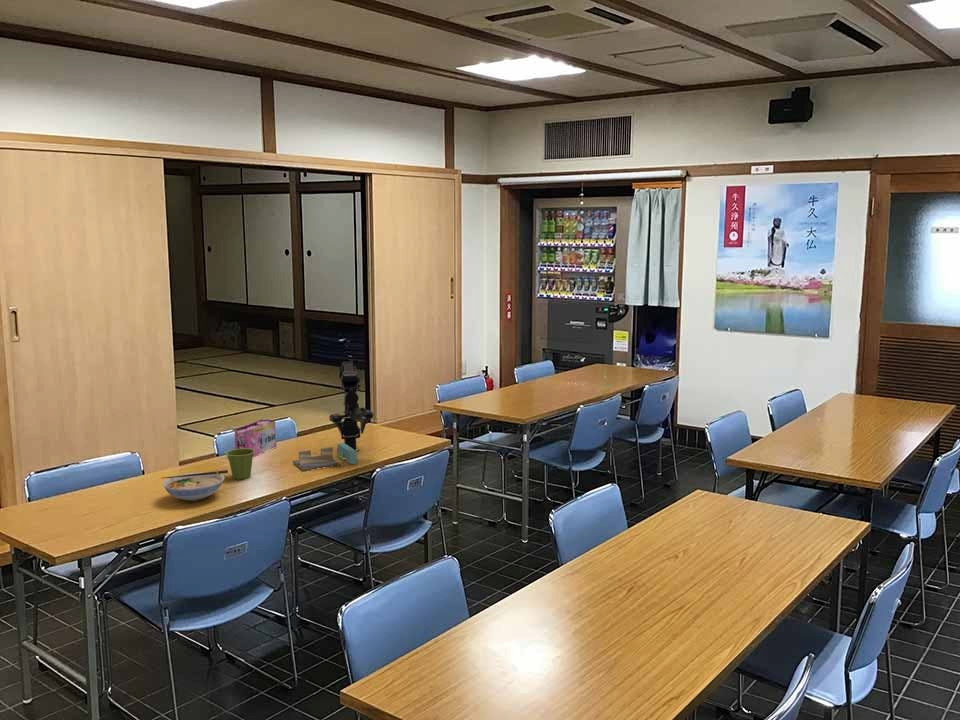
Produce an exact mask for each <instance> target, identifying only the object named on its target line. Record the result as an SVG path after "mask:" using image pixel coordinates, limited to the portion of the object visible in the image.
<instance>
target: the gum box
mask: <svg viewBox="0 0 960 720" xmlns="http://www.w3.org/2000/svg"><path fill="white" fill-rule="evenodd" d="M276 433H277V432H276V420H271V419H260V420H258V421H255V422H253V423H248V424H246V425H243V426H241V427H238V428H234V449H253V450H255V452H254V455H253V458H255V457H257V456H259V455H258V454H260V453H262V454H264V453H263V452H265V451H267V450H269V449H272V448H274V447H277V434H276ZM274 449H275V448H274ZM272 450H273V449H272ZM269 451H270V450H269ZM267 452H268V451H267ZM265 453H266V452H265ZM256 455H257V456H256ZM260 455H261V454H260ZM254 456H255V457H254Z"/></svg>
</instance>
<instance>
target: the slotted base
mask: <svg viewBox="0 0 960 720" xmlns="http://www.w3.org/2000/svg"><path fill="white" fill-rule="evenodd" d="M333 449H334V447H333V446H326V447H325V446H324V447H320V454H317V455H316V454H315V455H312V450H311V449H304V450H303V449H302V450H298V459H295V460H292V464H293V463H294V465H295V466H296V465H297V466H298V467H299V468H300V469H301V470H302V471H301V470H300V469H299V468H298V467H297V466H296V467H297V468H298V469H299V470H300V471H301V472H306V471H305V470H309V471H312V470H311V469H316V470H318V469H317V468H323V467H330V468H332V467H331V466H337V465H340V466H341V463H340V462H338V461H337V460H336V459H334V450H333ZM337 467H338V466H337ZM323 469H324V468H323Z"/></svg>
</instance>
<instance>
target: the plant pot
mask: <svg viewBox="0 0 960 720" xmlns="http://www.w3.org/2000/svg"><path fill="white" fill-rule="evenodd" d="M254 452H255V450H253V449H235V448H234V449H231V450H228V451H225V455H226V456H227V460H228V461H229V467H230V471H231V475H232V478H233V479H234V480H238V481H239V480H248V479H249V478H251V476H252V475H251V474H252V466H253V460H254V457H253V455H254Z"/></svg>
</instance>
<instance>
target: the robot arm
mask: <svg viewBox="0 0 960 720" xmlns="http://www.w3.org/2000/svg"><path fill="white" fill-rule="evenodd" d="M338 379H339V381H340V383H341V390H342V391H343V396H344V397H343V399H344V402H343V406H344V411H343V414H340V413H330V415H329V422H332V423H334V424H335V425H336V427H337V429H338V431H339V434H340V436H341V440H343V443H345V444H346V445H348V446H350V447H351V448H353V449H354V450H356V449H358V446H357V439H360V438H361V434H362V435H363V434H364V431H365V427H366V426H367V423H368V421H371V419H374V413H373V411H371V410H369V409H367V408H366V407H360V406H359V403H358V402H359V395H358V390H360V387H361V386H362V385H361V376H360V375H359V374H358V371H357V366H356V365H355V364H354V362H353V361H343V362H342V363H341V365H340V366H339V367H338ZM357 420H360V421H359V422H360V425H358V422H357Z"/></svg>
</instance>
